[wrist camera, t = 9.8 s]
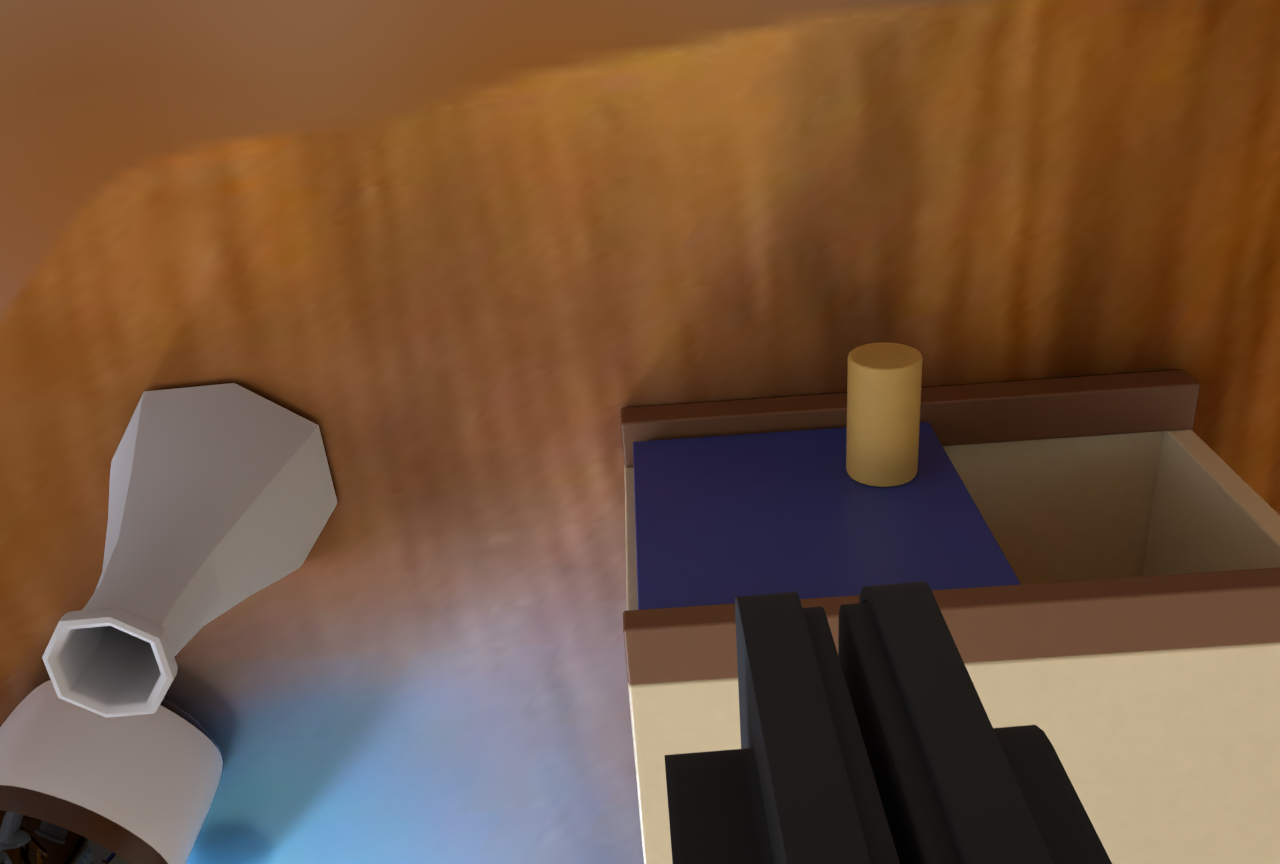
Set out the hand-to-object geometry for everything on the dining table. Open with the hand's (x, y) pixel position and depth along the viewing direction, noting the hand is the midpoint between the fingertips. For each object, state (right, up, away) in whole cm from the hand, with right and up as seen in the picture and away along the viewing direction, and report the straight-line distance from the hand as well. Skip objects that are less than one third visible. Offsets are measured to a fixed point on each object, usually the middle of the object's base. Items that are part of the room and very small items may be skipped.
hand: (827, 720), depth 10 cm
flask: (-15, +1, +27) cm, 31 cm away
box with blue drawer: (+7, -1, +29) cm, 30 cm away
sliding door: (+3, +4, +25) cm, 25 cm away
